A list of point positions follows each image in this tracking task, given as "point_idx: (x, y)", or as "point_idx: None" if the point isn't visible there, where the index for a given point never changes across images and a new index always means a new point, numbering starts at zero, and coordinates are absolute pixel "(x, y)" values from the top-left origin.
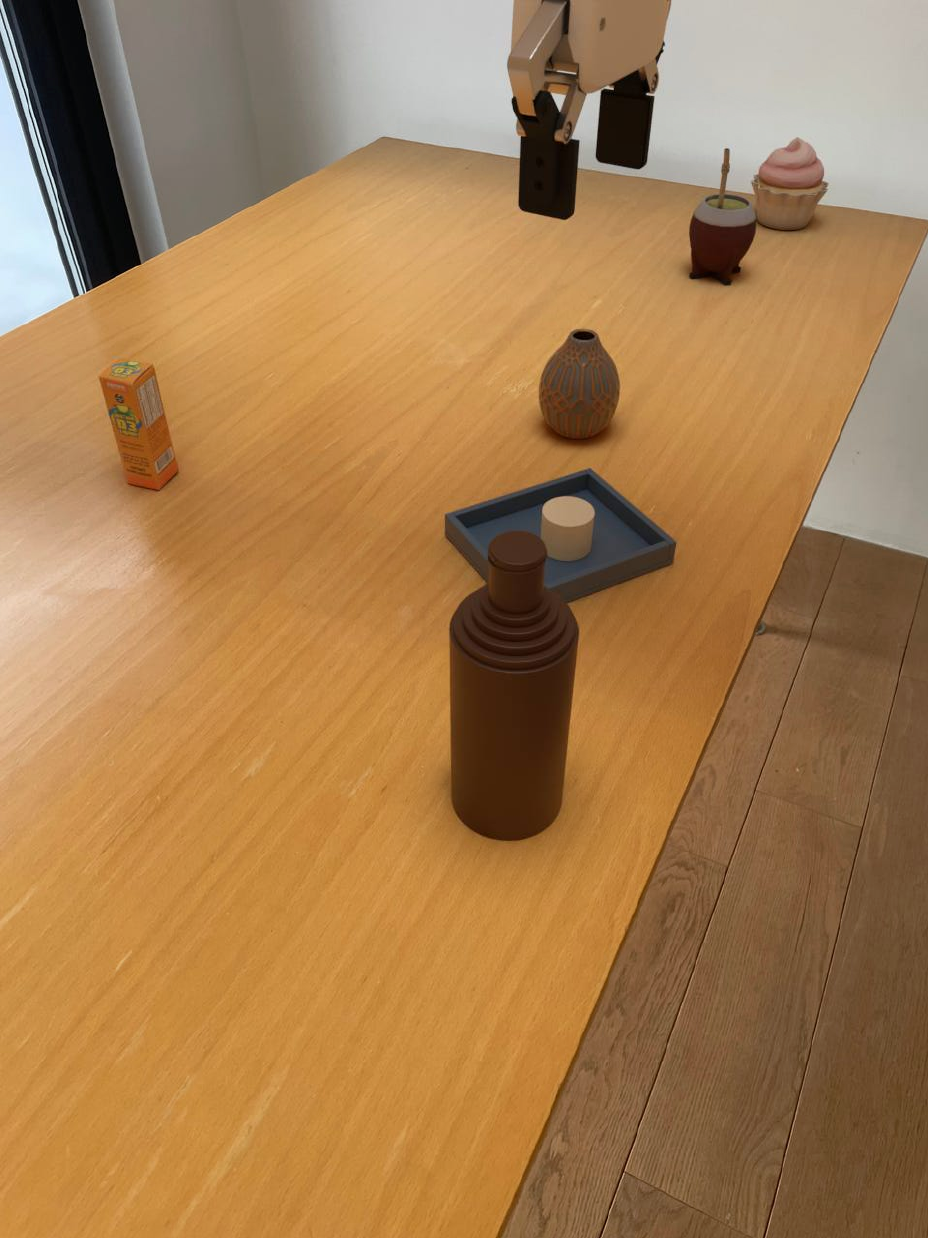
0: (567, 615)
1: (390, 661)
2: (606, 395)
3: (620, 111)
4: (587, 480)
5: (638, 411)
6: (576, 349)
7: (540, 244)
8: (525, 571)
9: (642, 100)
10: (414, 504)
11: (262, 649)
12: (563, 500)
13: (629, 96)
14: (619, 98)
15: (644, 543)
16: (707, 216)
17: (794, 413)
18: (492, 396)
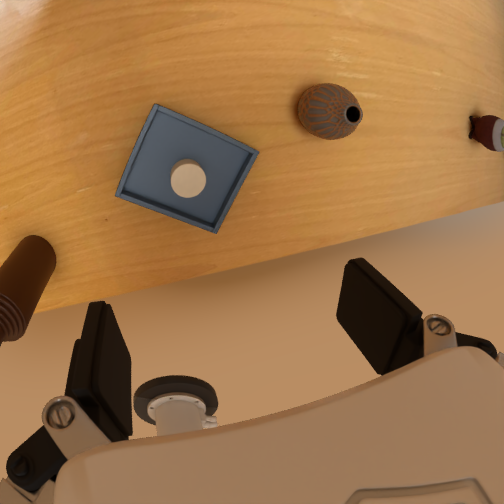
0: (18, 334)
1: (50, 160)
2: (323, 137)
3: (380, 333)
4: (251, 153)
5: (349, 137)
6: (338, 113)
7: (467, 30)
8: None
9: (382, 371)
10: (173, 66)
11: (20, 105)
12: (196, 171)
13: (393, 355)
14: (392, 343)
15: (217, 209)
16: (496, 128)
17: (378, 214)
18: (321, 45)
